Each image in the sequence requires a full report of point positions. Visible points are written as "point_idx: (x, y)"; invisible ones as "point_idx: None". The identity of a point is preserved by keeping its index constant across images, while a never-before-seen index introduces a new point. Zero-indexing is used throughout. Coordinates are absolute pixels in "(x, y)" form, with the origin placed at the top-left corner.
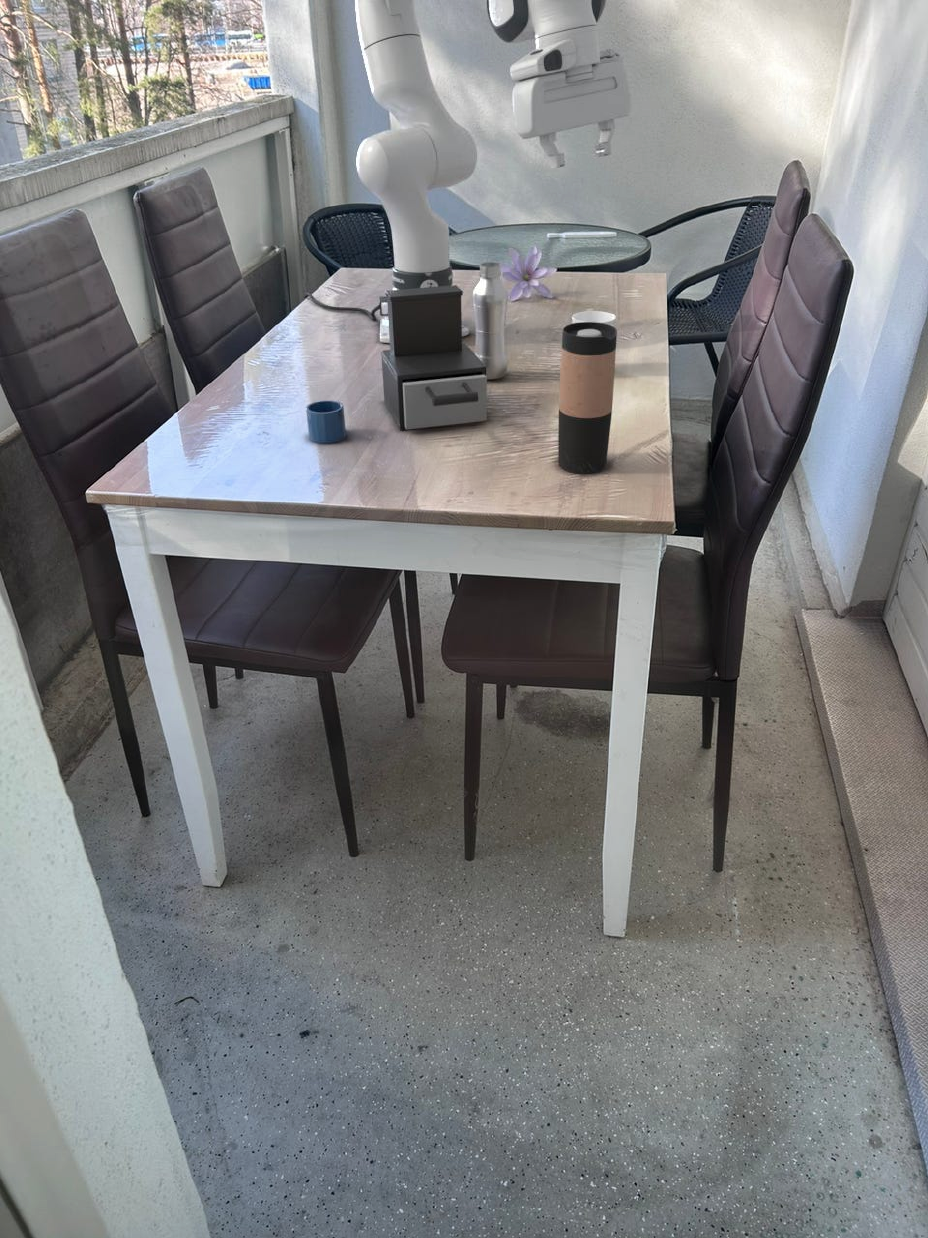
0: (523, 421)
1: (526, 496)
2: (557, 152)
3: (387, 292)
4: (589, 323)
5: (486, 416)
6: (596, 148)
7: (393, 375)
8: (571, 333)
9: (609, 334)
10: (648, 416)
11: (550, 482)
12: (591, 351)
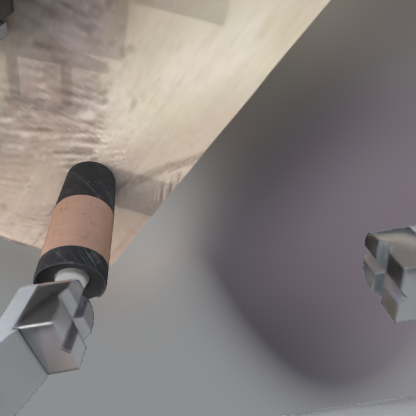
0: (70, 43)
1: (15, 213)
2: (31, 384)
3: None
4: (83, 264)
5: (5, 35)
6: (390, 258)
7: None
8: (52, 266)
9: (99, 280)
10: (225, 107)
11: (46, 199)
12: None
